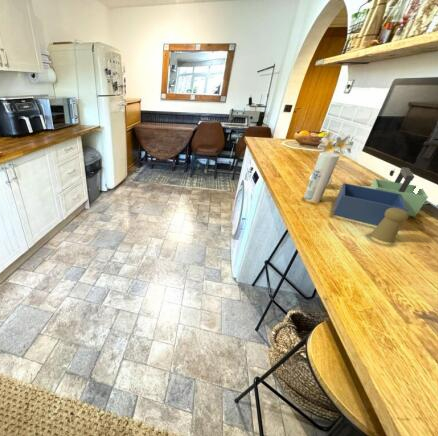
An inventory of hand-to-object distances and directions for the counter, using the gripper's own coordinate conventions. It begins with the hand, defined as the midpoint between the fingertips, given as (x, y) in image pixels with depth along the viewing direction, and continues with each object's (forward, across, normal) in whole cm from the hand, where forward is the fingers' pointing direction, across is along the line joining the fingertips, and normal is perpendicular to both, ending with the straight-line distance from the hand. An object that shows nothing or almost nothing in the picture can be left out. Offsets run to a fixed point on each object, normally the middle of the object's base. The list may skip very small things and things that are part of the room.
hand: (420, 164), depth 73 cm
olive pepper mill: (+23, -10, -1) cm, 25 cm away
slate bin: (+23, +5, +7) cm, 24 cm away
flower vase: (+23, +25, +27) cm, 44 cm away
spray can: (+23, +6, +24) cm, 34 cm away
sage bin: (+23, +22, +1) cm, 32 cm away
